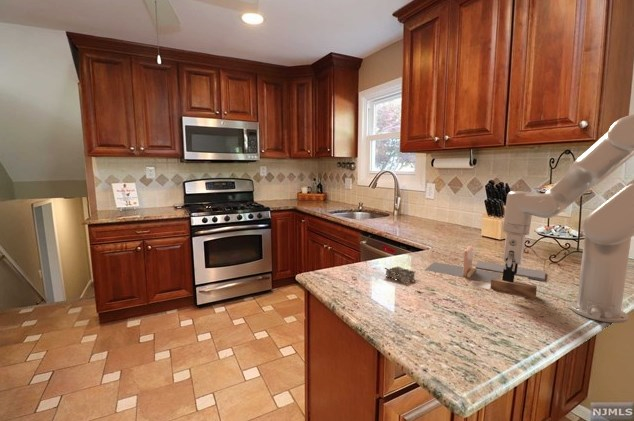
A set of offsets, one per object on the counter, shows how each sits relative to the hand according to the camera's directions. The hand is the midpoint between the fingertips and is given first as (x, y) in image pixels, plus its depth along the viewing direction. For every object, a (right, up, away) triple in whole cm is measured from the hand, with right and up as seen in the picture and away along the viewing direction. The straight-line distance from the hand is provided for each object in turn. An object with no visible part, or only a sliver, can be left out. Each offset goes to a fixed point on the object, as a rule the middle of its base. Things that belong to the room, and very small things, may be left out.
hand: (509, 276), depth 106 cm
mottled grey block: (-34, -4, +15) cm, 37 cm away
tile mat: (-7, -3, +20) cm, 21 cm away
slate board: (+13, -2, +21) cm, 25 cm away
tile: (-5, -2, +18) cm, 19 cm away
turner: (-3, -5, +3) cm, 6 cm away
